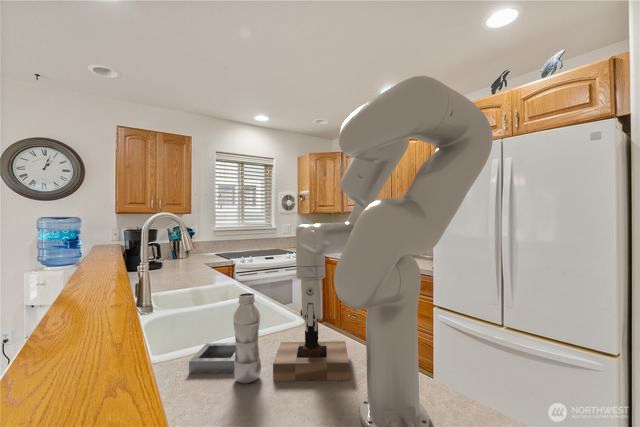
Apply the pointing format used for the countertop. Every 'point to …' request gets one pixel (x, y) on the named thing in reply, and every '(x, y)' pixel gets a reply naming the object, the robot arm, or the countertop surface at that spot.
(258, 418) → the countertop surface
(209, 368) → the frame
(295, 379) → the wooden block with hole
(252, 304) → the plastic bottle
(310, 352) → the bolt
